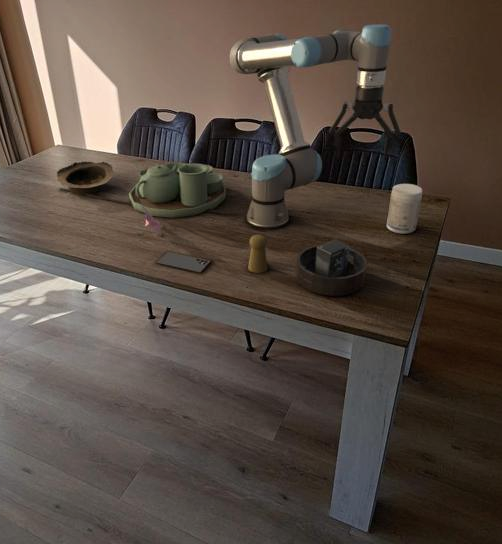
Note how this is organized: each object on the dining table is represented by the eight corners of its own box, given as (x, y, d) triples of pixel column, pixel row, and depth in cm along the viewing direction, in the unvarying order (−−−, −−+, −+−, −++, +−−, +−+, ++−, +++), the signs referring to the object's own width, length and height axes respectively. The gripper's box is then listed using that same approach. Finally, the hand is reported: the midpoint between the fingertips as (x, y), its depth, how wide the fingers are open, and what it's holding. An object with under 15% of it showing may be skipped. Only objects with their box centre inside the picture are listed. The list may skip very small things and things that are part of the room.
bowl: (291, 293, 144) (293, 274, 141) (300, 259, 160) (301, 241, 157) (363, 301, 139) (366, 282, 135) (364, 266, 154) (367, 247, 151)
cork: (246, 264, 160) (246, 233, 154) (265, 262, 160) (265, 231, 154) (250, 273, 155) (250, 242, 149) (269, 271, 155) (270, 240, 149)
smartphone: (168, 251, 169) (210, 259, 162) (168, 253, 169) (210, 261, 162) (156, 262, 163) (200, 271, 156) (156, 263, 164) (200, 272, 157)
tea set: (240, 186, 215) (240, 148, 206) (199, 225, 185) (196, 183, 177) (160, 175, 231) (157, 140, 223) (110, 210, 202) (104, 171, 193)
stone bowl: (87, 174, 238) (85, 155, 233) (127, 187, 226) (126, 168, 221) (47, 192, 221) (44, 172, 216) (88, 207, 209) (85, 186, 204)
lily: (151, 246, 176) (162, 223, 172) (123, 230, 178) (134, 206, 174) (163, 240, 187) (174, 218, 183) (137, 225, 189) (147, 203, 185)
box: (327, 285, 145) (331, 254, 140) (313, 277, 149) (316, 246, 144) (346, 276, 149) (350, 245, 143) (332, 268, 153) (335, 238, 147)
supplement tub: (400, 220, 179) (407, 181, 171) (421, 230, 172) (430, 190, 164) (379, 226, 176) (385, 187, 168) (400, 237, 168) (408, 196, 161)
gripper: (323, 88, 143) (318, 160, 154) (418, 88, 136) (405, 163, 147) (326, 82, 149) (320, 152, 160) (416, 82, 142) (404, 155, 153)
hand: (361, 157), depth 154 cm, fingers open, 13 cm apart
